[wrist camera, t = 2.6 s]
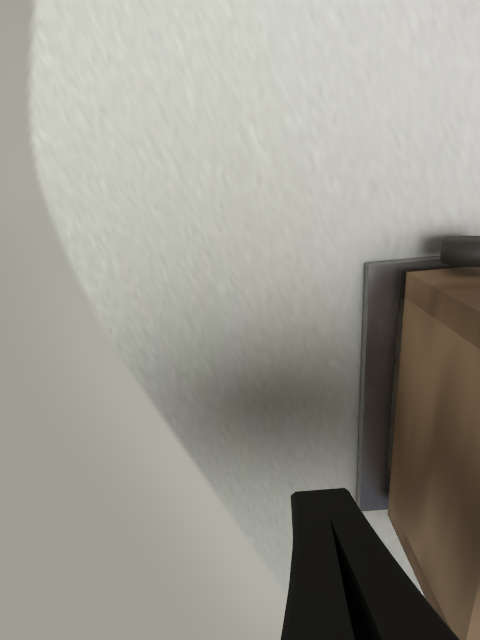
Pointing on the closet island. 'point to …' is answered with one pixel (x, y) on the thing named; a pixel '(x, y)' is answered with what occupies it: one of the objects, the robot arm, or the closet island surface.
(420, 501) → the cart
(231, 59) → the closet island surface
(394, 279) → the frame
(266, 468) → the closet island surface
